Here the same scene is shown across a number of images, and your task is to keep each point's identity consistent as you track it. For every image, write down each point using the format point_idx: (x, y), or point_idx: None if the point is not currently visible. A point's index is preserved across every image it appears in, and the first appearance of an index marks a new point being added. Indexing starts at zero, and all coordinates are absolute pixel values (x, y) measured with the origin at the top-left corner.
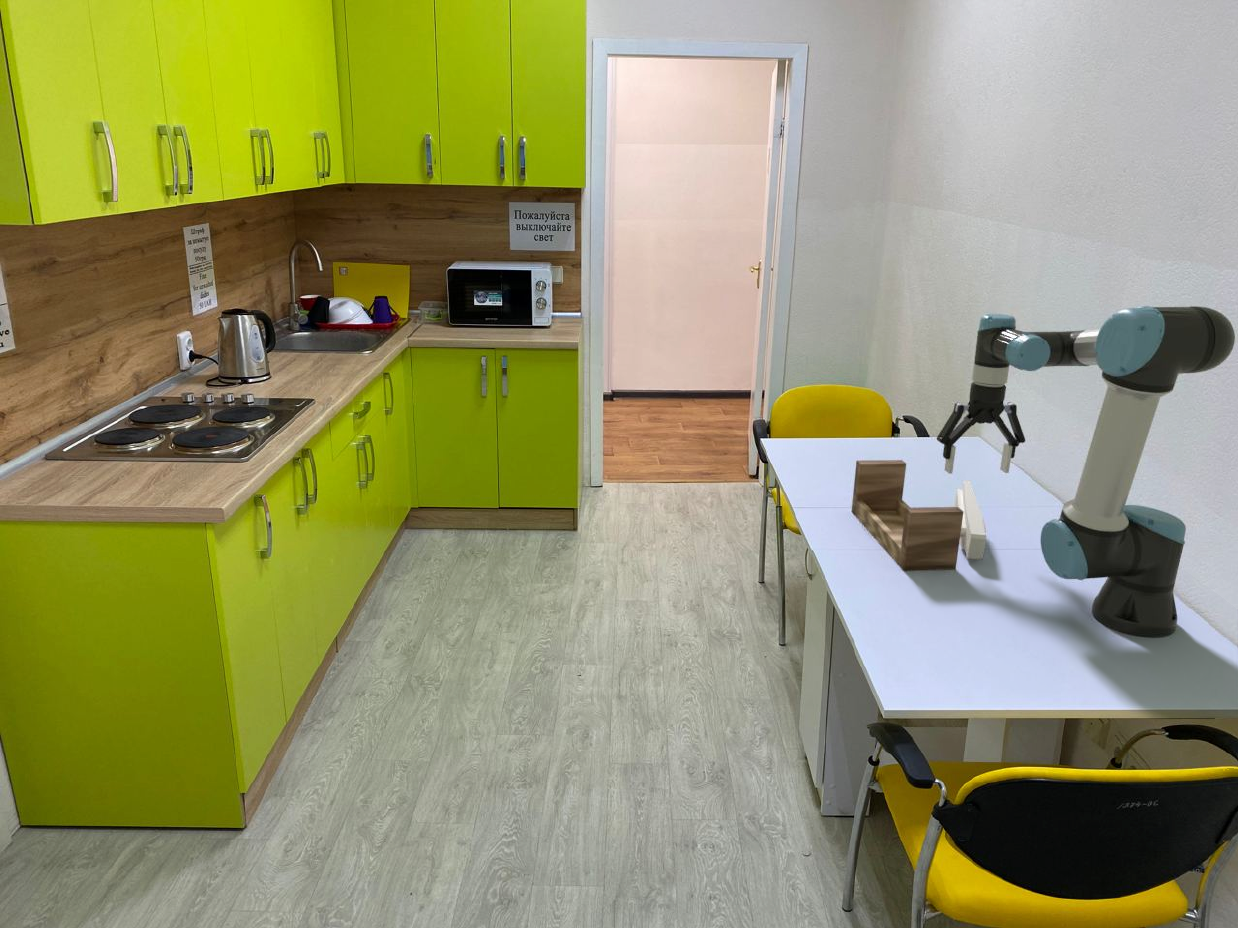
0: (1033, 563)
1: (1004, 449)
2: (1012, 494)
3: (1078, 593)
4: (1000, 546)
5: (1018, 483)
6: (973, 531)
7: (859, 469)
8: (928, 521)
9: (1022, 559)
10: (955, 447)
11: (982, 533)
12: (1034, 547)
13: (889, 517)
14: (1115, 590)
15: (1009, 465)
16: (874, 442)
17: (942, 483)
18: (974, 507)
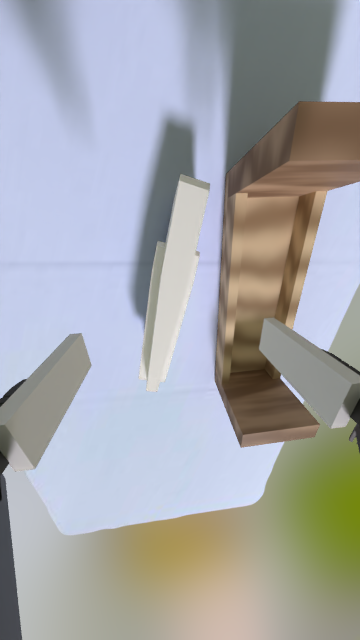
0: (82, 200)
1: (49, 425)
2: (57, 434)
3: (17, 6)
4: (119, 275)
5: (43, 459)
6: (201, 199)
7: (312, 416)
8: None
9: (97, 219)
10: (350, 381)
11: (185, 188)
12: (64, 271)
13: (240, 354)
14: None
15: (56, 349)
16: (165, 514)
17: (132, 449)
18: (167, 295)
